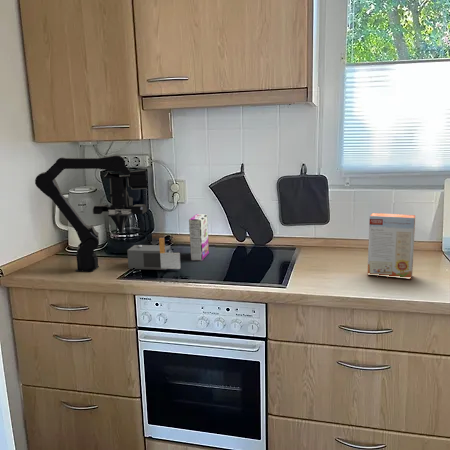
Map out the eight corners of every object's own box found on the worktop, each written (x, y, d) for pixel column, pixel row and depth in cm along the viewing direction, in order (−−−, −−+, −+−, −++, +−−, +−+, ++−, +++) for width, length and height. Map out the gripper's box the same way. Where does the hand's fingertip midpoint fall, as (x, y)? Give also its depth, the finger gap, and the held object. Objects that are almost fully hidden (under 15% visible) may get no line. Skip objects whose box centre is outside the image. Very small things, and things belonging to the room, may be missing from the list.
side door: (160, 268, 169) (159, 238, 167) (161, 267, 170) (160, 237, 168) (179, 269, 168) (178, 238, 166) (180, 268, 169) (179, 238, 167)
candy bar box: (197, 253, 192) (196, 213, 189) (209, 253, 191) (208, 213, 188) (189, 260, 182) (188, 219, 178) (202, 261, 181) (201, 219, 177)
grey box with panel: (128, 268, 172) (127, 248, 171) (135, 262, 180) (134, 243, 179) (168, 269, 170) (167, 249, 169) (174, 263, 178) (173, 244, 176)
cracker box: (412, 275, 158) (416, 214, 154) (411, 280, 153) (415, 217, 149) (369, 271, 164) (372, 212, 160) (366, 275, 159) (369, 215, 155)
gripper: (150, 187, 176) (152, 228, 180) (103, 187, 179) (106, 227, 182) (140, 191, 166) (143, 234, 169) (90, 191, 168) (93, 233, 172)
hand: (121, 232), depth 173 cm, fingers closed
